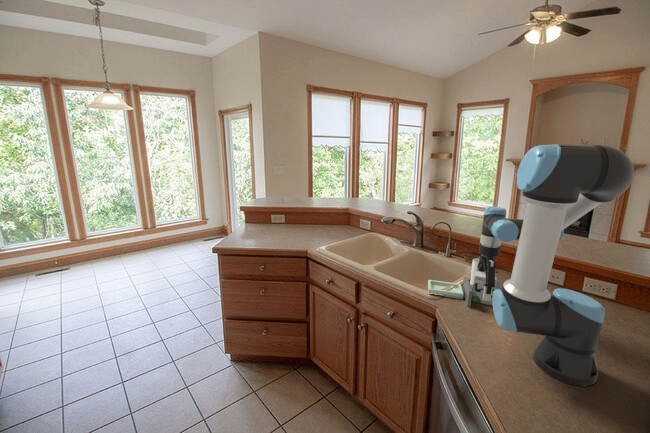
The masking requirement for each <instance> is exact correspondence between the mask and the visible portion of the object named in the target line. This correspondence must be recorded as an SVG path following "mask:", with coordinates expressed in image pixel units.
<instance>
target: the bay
mask: <svg viewBox="0 0 650 433" xmlns="http://www.w3.org/2000/svg"><path fill="white" fill-rule="evenodd" d="M502 288H503V286H501V284H500V282H499V281H498V280H497V284H496V289H501V290H502ZM462 290H463V293H464V295H463V299H464V301H465V304H466V307H468V308H471V305H472V301H471V299H472V292H473V291H472V285H471V284H470V281H469V279H468V277H466V276H465V277H463V285H462Z"/></svg>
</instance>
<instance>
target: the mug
mask: <svg viewBox="0 0 650 433" xmlns="http://www.w3.org/2000/svg"><path fill="white" fill-rule="evenodd" d="M479 260H480V258H473V259H472V264H471V272H470V281H469V283H470V286H471V287H472V286H473V280H474V274H475V272H476V271H477V272H478V267H477V266H478V263H479ZM483 272H485V271H483Z"/></svg>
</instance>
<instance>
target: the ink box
mask: <svg viewBox="0 0 650 433" xmlns="http://www.w3.org/2000/svg"><path fill="white" fill-rule="evenodd" d="M497 281H498V275H496V274H495V287H493V288H492V295H491V301H484V300H483V293H484V287H485V286H484V284H486V276H485V273H482V272H477V271H476V272H475V274H474V280H473V286H472V285H471V289H472V291H473V292H472V299H471V302H475V303H480V304H483V305H486V306H487V305H489V306H492V307H493V302H492V298H493V292H494V290H496V284H497ZM490 284H491V283H490Z"/></svg>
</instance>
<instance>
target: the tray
mask: <svg viewBox="0 0 650 433" xmlns="http://www.w3.org/2000/svg"><path fill="white" fill-rule="evenodd" d="M449 285H450V286H451V285H452V286H455V288H453V289H452V290H450V291H446V290H441V289H443V288H445V287H447V286H449ZM427 292H429V293H436V294H442V295H443V296H444V298H445V297H446V298H451V299H459V300H464V293H463V286H462V284H461V283H457V282H449V281H443V280H442V281H441V280H434V279H428V281H427ZM443 296H442V297H443Z"/></svg>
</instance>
